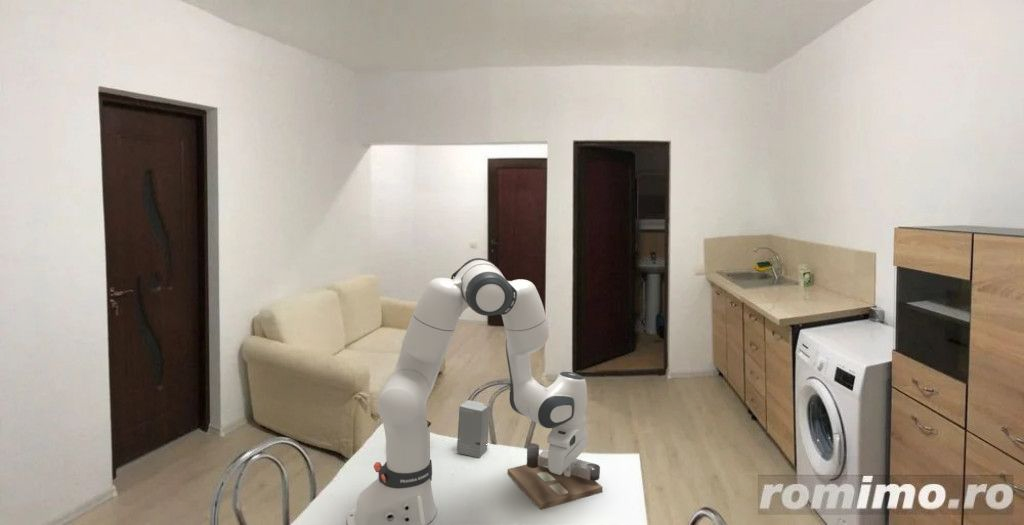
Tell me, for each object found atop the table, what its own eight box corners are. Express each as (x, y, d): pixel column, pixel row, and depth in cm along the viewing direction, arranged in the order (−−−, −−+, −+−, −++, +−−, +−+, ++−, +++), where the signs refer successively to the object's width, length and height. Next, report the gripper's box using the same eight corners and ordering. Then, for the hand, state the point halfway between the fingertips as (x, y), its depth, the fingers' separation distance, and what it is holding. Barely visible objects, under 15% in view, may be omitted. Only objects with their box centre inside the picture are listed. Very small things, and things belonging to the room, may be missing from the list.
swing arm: (537, 465, 160) (537, 455, 160) (543, 459, 163) (543, 450, 163) (596, 481, 151) (597, 472, 151) (601, 475, 155) (601, 465, 154)
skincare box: (456, 453, 172) (456, 406, 170) (466, 444, 179) (466, 398, 177) (480, 459, 169) (480, 411, 167) (489, 449, 176) (490, 402, 174)
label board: (540, 509, 143) (541, 483, 142) (506, 472, 161) (506, 448, 160) (602, 491, 152) (603, 466, 151) (563, 458, 170) (563, 436, 169)
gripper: (574, 413, 162) (572, 456, 164) (544, 439, 145) (543, 487, 147) (594, 417, 159) (592, 461, 161) (565, 445, 142) (564, 494, 143)
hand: (568, 474), depth 154 cm, fingers closed
